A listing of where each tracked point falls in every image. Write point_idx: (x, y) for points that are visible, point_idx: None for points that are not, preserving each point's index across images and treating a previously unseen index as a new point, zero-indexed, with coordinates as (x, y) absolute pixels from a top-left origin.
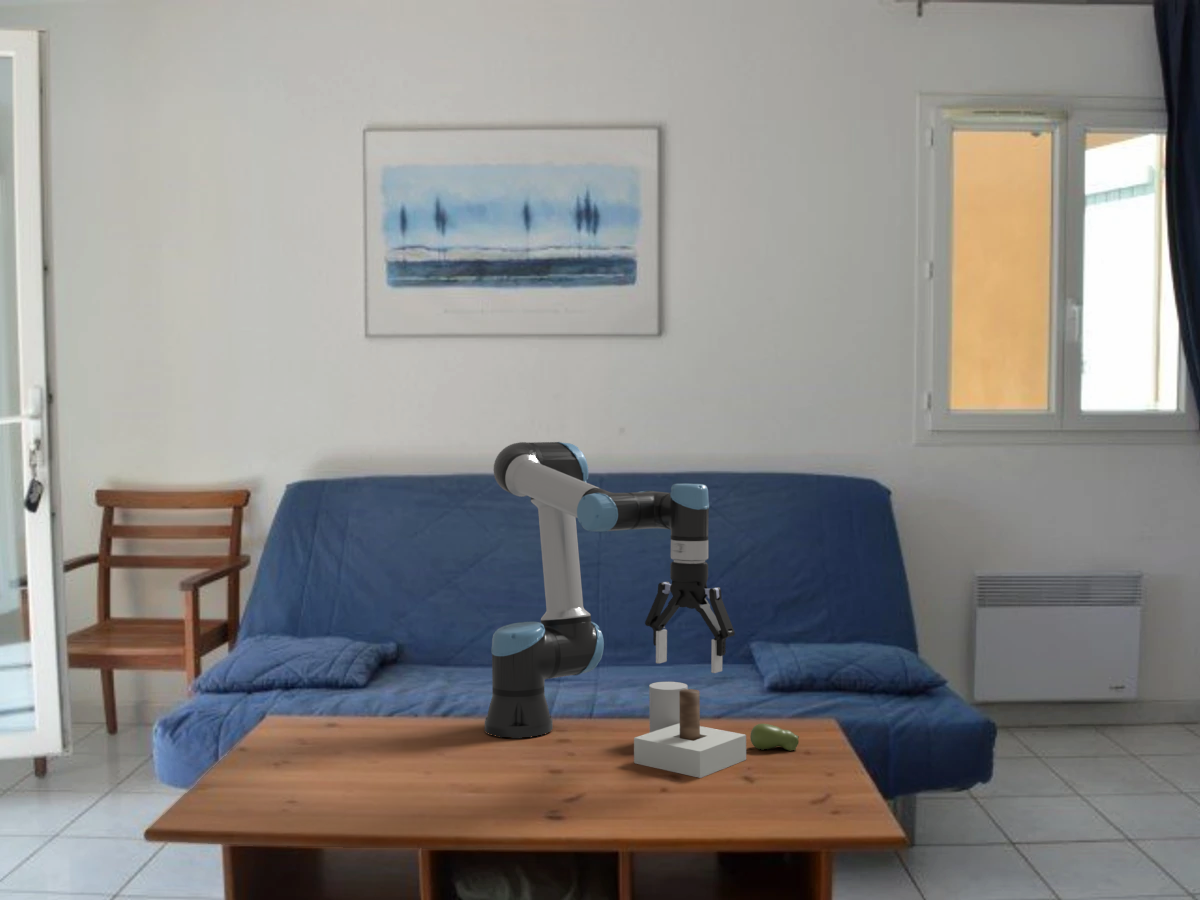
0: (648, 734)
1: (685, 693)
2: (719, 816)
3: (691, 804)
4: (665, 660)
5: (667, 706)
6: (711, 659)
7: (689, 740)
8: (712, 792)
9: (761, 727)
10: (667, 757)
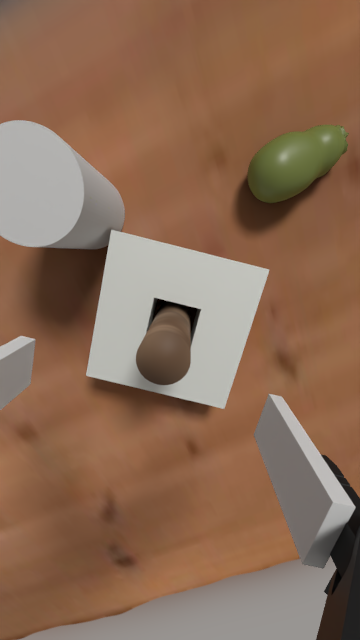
0: (97, 345)
1: (162, 384)
2: None
3: (244, 482)
4: (32, 349)
5: (72, 244)
6: (267, 470)
7: None
8: None
9: (282, 183)
10: None
